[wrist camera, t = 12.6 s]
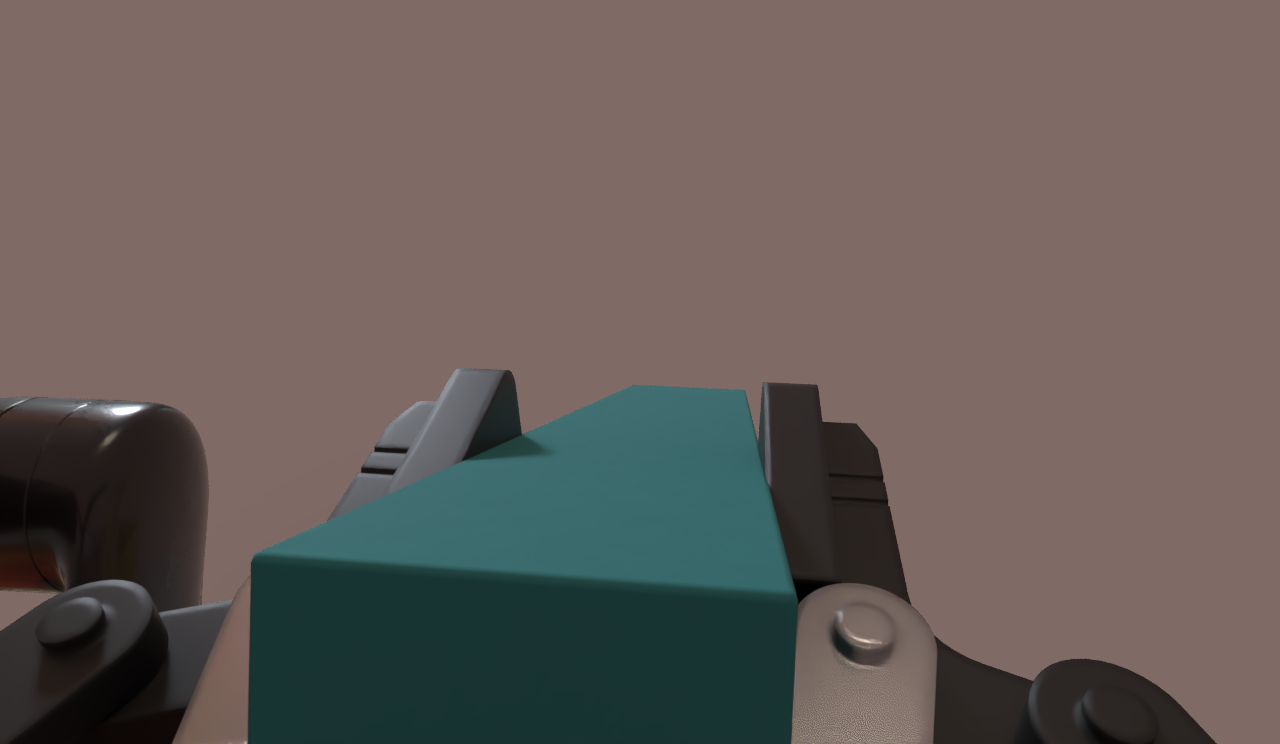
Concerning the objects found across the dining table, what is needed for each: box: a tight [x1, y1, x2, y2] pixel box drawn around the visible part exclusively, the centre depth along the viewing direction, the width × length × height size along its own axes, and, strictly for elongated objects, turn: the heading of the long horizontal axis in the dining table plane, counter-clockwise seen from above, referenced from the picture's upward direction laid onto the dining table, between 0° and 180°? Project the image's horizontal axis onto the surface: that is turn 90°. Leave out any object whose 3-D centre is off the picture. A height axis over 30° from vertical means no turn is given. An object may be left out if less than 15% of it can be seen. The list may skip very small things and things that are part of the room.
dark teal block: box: [247, 385, 798, 744], centre depth 15 cm, size 20×4×2 cm, turn 173°
